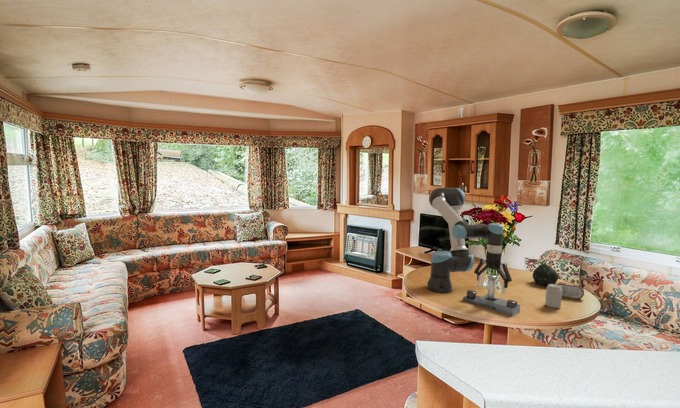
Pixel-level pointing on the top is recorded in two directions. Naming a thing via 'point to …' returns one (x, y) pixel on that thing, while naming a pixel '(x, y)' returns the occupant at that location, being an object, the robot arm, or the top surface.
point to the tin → (571, 290)
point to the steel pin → (491, 287)
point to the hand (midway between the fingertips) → (491, 289)
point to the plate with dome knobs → (493, 303)
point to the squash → (545, 275)
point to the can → (553, 296)
